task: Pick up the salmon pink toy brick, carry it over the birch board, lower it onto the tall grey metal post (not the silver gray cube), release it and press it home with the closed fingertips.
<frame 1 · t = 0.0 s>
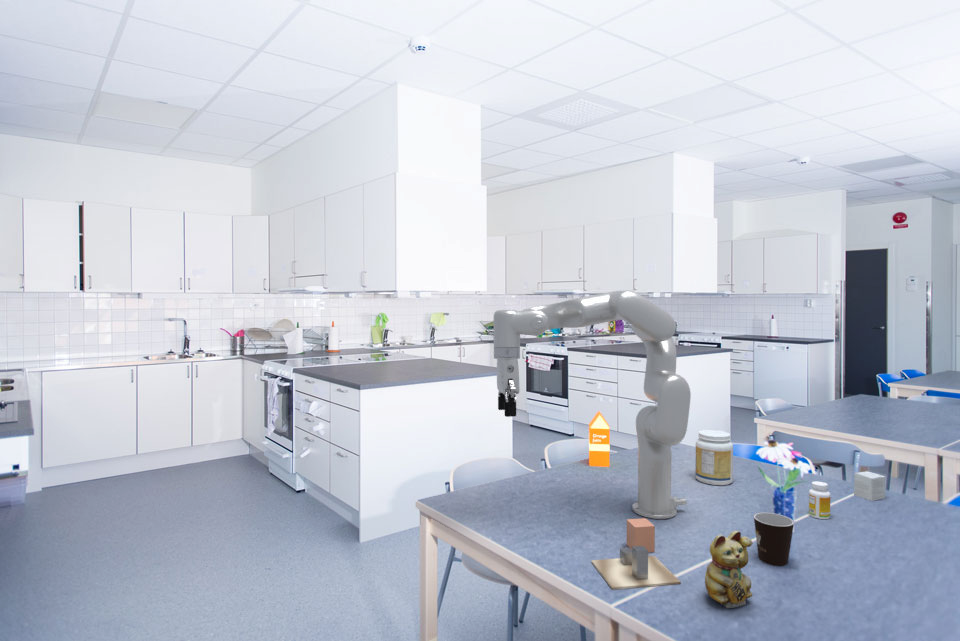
hand: (506, 412, 160), 31 cm above the table, fingers open, 9 cm apart
coffee mug: (773, 558, 137), on the table
silver gray cube: (627, 564, 134), resting on board
orange juice: (599, 463, 218), on the table
salmon pink toy brick: (640, 548, 142), on the table
supplement bottle: (819, 516, 164), on the table
supplement tub: (713, 481, 196), on the table
pale grey block: (869, 497, 180), on the table
board: (634, 572, 130), on the table
decorative figurine: (725, 600, 118), on the table
post: (639, 579, 127), resting on board
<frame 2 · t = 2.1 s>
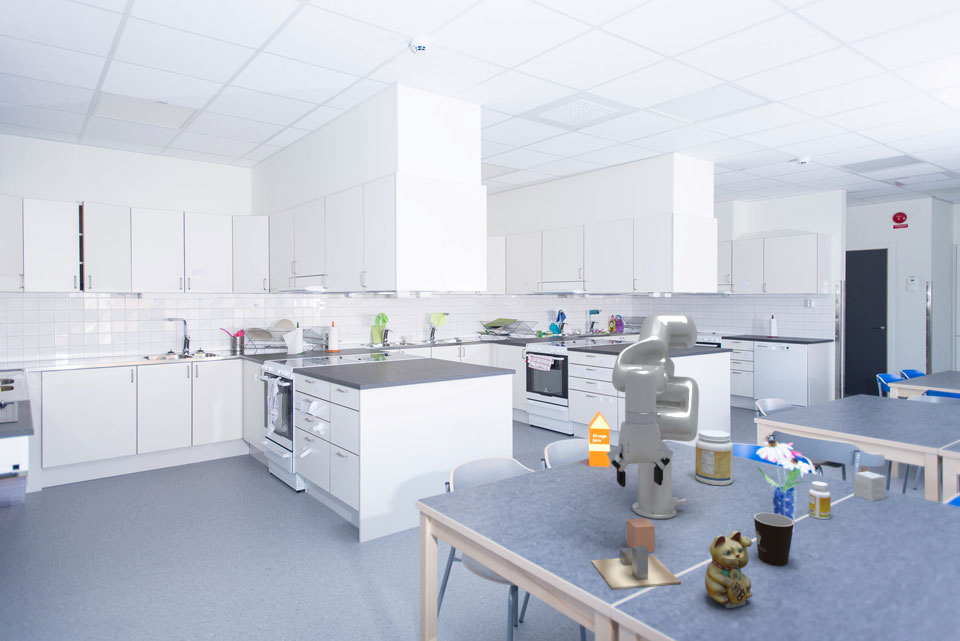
hand: (639, 484, 142), 16 cm above the table, fingers open, 9 cm apart
nothing on the table moved.
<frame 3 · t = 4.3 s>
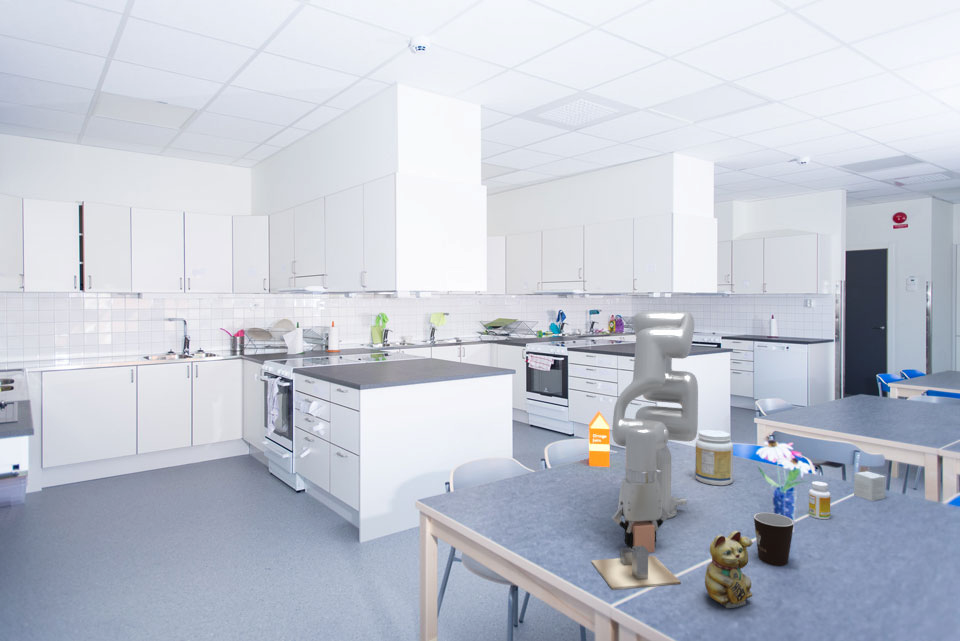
hand: (640, 544, 142), 1 cm above the table, fingers closed on salmon pink toy brick, 5 cm apart
salmon pink toy brick: (640, 548, 142), on the table, touching gripper
everything else where it was.
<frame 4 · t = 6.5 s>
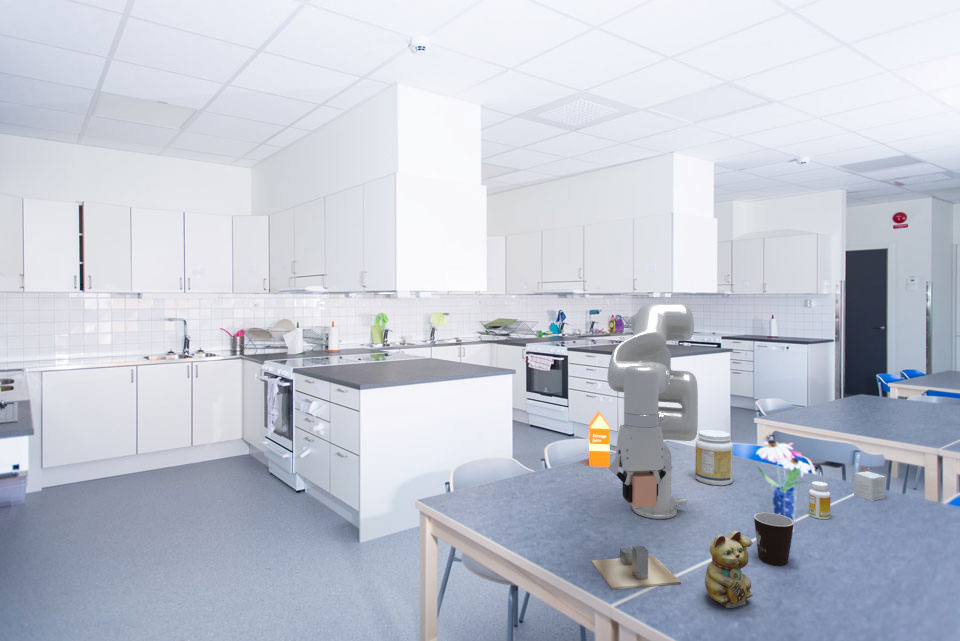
hand: (640, 499, 127), 18 cm above the table, fingers closed on salmon pink toy brick, 5 cm apart
salmon pink toy brick: (640, 502, 127), point 17 cm above the table, touching gripper
everything else where it was.
when the fingers open (3 cm above the table, at t = 9.1 s): salmon pink toy brick drops 1 cm, resting on post.
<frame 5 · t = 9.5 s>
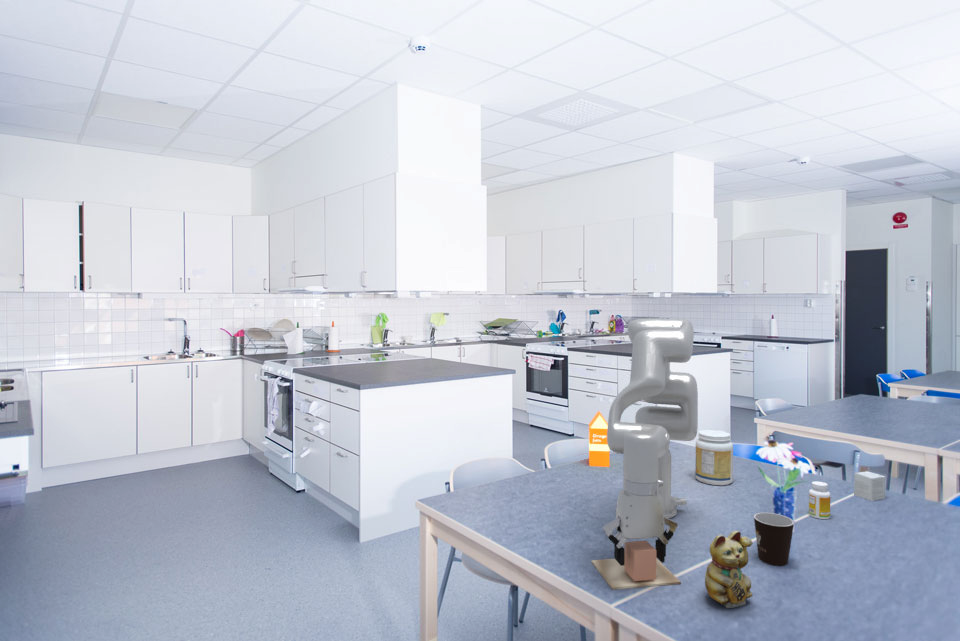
hand: (640, 561, 126), 4 cm above the table, fingers open, 9 cm apart
salmon pink toy brick: (640, 574, 127), point 1 cm above the table, touching post
everything else where it was.
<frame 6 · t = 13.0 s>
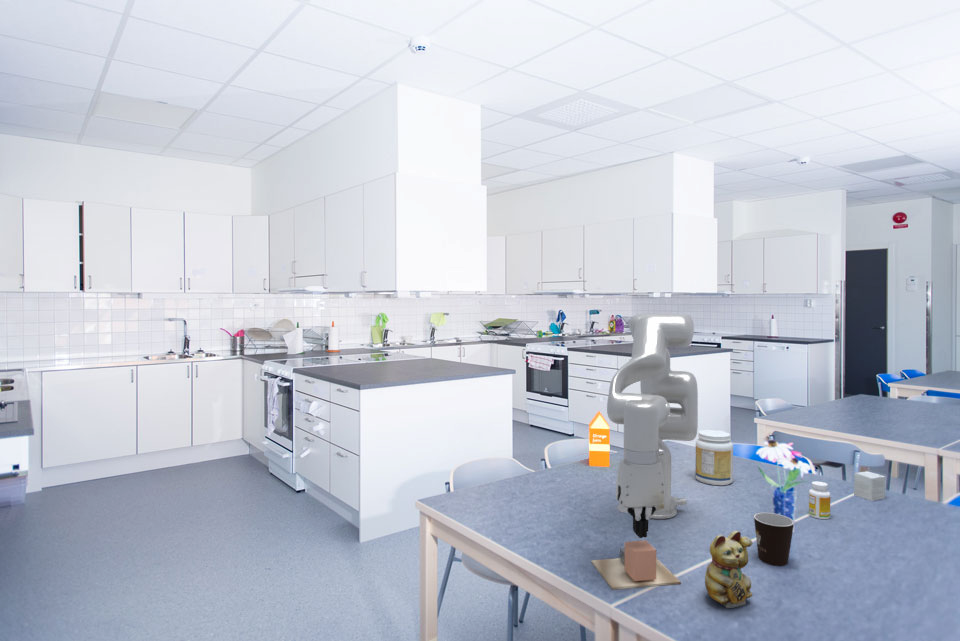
hand: (640, 535, 127), 10 cm above the table, fingers closed
nothing on the table moved.
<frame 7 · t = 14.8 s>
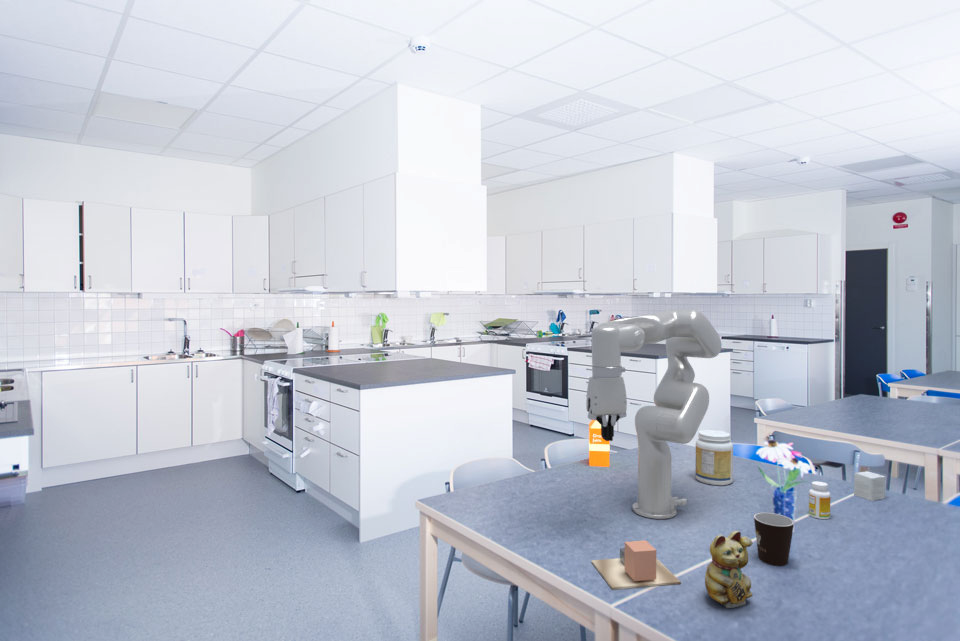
hand: (607, 439, 151), 26 cm above the table, fingers closed
nothing on the table moved.
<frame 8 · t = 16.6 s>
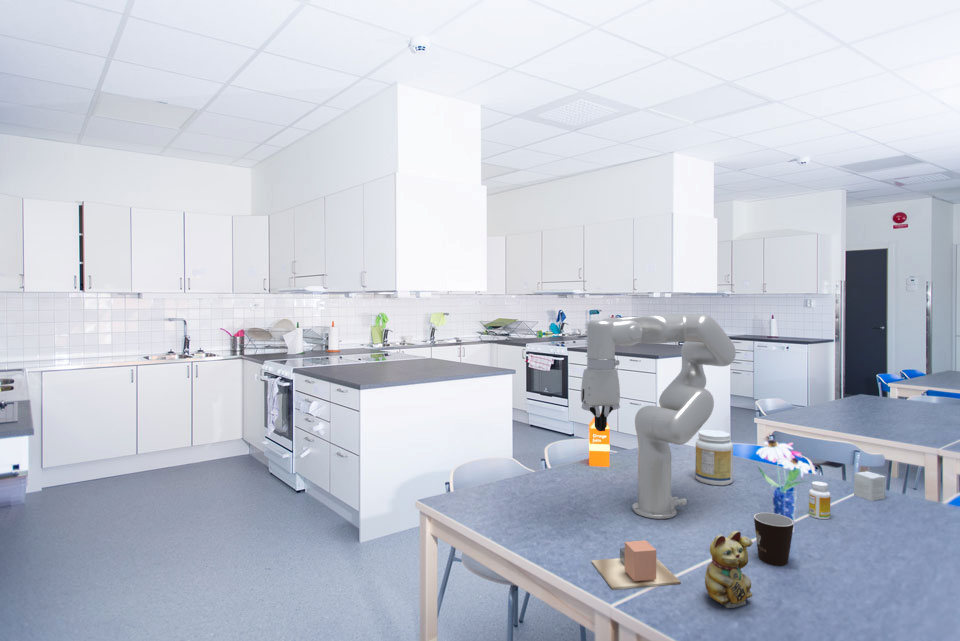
hand: (600, 430, 156), 27 cm above the table, fingers closed
nothing on the table moved.
at the end: salmon pink toy brick 0.0 cm from the post (horizontally); salmon pink toy brick point 1.0 cm above the table; the gripper is holding nothing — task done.
